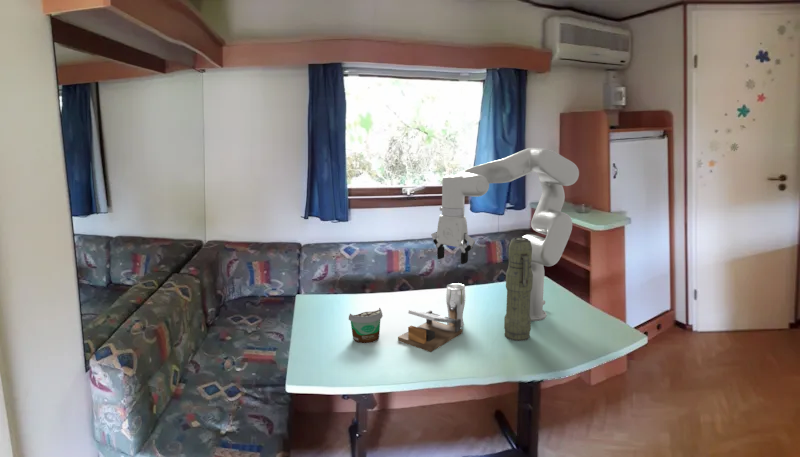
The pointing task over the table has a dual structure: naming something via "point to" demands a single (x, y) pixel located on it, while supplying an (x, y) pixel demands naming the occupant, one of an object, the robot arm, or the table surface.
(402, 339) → the plate
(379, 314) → the food container
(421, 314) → the grey marble tile
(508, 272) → the thermos
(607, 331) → the table surface
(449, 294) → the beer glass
